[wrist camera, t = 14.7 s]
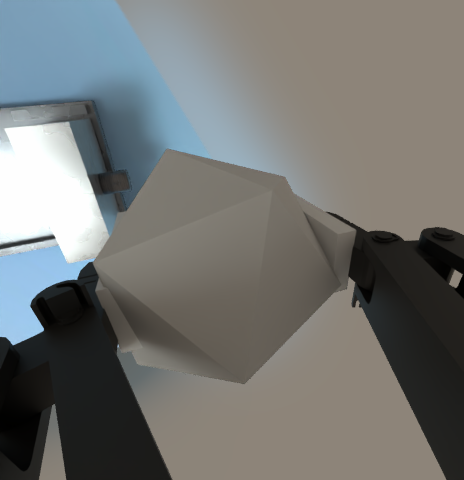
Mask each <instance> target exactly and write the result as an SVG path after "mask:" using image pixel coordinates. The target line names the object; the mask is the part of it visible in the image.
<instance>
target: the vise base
mask: <svg viewBox="0 0 464 480" xmlns="http://www.w3.org/2000/svg"><path fill="white" fill-rule="evenodd" d="M88 118H90V119H91V122H92V125H93V128H94V131H95V135H96V138H97V141H98V144H99V147H100V150H101V154H102V157H103V160H104V163H105V166H106V169H107V172H112V171H115V169H114V166H113V162H112V159H111V156H110V153H109V149H108V146H107V143H106V139H105V136H104V133H103V129H102V126H101V123H100V120H99V116H98V113H97V110H96V106H95V103H94V101H80V102H69V103H57V104H46V105H35V106H24V107H13V108H1V109H0V257H1V256H6V255H11V254H16V253H21V252H26V251H32V250H37V249H42V248H47V247H52V246H58V245H59V244H58V242H57V239H56V237H55V235H54V233H53V231H52V229H51V227H50V225H49V222H48V220H47V218H46V216H45V214H44V212H43V210H42V208H41V205H40V203H39V201H38V199H37V197H36V195H35V193H34V191H33V188H32V186H31V184H30V182H29V180H28V178H27V176H26V174H25V171H24V169H23V167H22V165H21V163H20V161H19V159H18V157H17V154H16V152H15V150H14V148H13V146H12V144H11V142H10V140H9V137H8V135H7V133H6V131H5V128H12V127H19V126H27V125H34V124H41V123H50V122H59V121H69V120H79V119H88ZM114 194H115V198H116V201H117V204H118V207H119V210H120V212H125V211H127V209H126V205H125V202H124V199H123V195H122V192H120V193H114Z"/></svg>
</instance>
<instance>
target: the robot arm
mask: <svg viewBox="0 0 464 480" xmlns="http://www.w3.org/2000/svg"><path fill="white" fill-rule="evenodd" d="M294 195H295V194H294ZM295 197H296V199H297V201H298V203H299V205H300V207H301V209H302V211H303V212H304V214H305V216H306V218H307V220H308V222H309V224H310V226H311V228H312V230H313V232H314V234H315V235H316V237H317V239H318V241H319V243H320V245H321V247H322V249H323V251H324V253H325V255H326V257H327V259H328V261H329V263H330V265H331V267H332V269H333V271H334V272H335V274H336V276H337V277H338V279H339V281H340V283H341V286H340V287H339V288H338V289H337V290H336V291H335V292H338V291H342V290H345V289H347V285H348V278H349V277H350V278H351V279H352V280H353V281H355V287H354V293H353V298H352V307H355V305H356V301H357V300H359V302H360V304H359V307H362V309H363V310H364V313H365V315H366V317H367V319H368V321H369V323H370V325H371V327H372V329H373V331H374V333H375V335H376V337H377V339H378V341H379V343H380V345H381V347H382V349H383V351H384V353H385V355H386V357H387V359H388V361H389V364H390V366H391V368H392V370H393V372H394V374H395V376H396V378H397V380H398V382H399V384H400V386H401V388H402V390H403V392H404V394H405V396H406V398H407V400H408V402H409V404H410V406H411V408H412V410H413V412H414V414H415V416H416V418H417V420H418V423H419V424H420V426H421V429H422V431H423V433H424V435H425V437H426V439H427V441H428V443H429V445H430V447H431V449H432V451H433V453H434V455H435V457H436V459H437V461H438V463H439V465H440V467H441V469H442V471H443V473H444V475H445V477H446V480H464V235H462V234H460V233H458V232H455V231H453V230H448V229H446V228H439V227H435V228H427V229H424V230H423V231H422V232H421V235H420V238H419V240H416V241H404V240H403V239H402V238H401V237H400V236H398V235H396V234H393V233H390V232H385V231H370V232H367V231H365V230H363V229H362V228H360V227H358V226H356V225H355V224H353V223H350V222H349V221H347V220H346V219H345V220H344V219H343V218H342V217H340V216H338V215H337V214H333V213H330V212H324V211H323V210H321V209H319V208H318V207H316V206H314V205H313V204H311V203H309V202H307V201H306V200H304V199H302V198H300V197H299V196H297V195H295ZM125 213H126V211H125V212H119V213H117V217H116V220H115V224H114V227H113V231H114V229H115V228H116V226H117V225H118V223H119V222H120V220H121V219H122V217H123V216H124V214H125ZM113 231H112V233H113ZM454 270H457V271H458V272H460V273H461V274H463V275H462V278H461V280H460V283H459V285H458V287H457V288H454V287H452V286H451V285H449V283H450V280H451V277H452V275H453V272H454ZM77 279H78V280H68V281H63V282H60V283H56V284H54V285H52V286H50V287H48V288H46V289H44V290H43V291H41V292H40V293H39V294H37V295H36V297H35V298H34V299H33V300H32V302H31V305H30V307H31V308H32V310H33V312H34V313H35V315H36V317H37V318H38V320H39V321H40V323H41V325H42V326H43V328H44V331H43V332H41V333H39V334H37V335H35V336H33V337H31V338H29V339H26V340H24V341H22V342H20V343H18V344H15V345H12V344H11V342H10V341H9V340H8V339H7V338H6V337H0V480H39V476H40V470H41V464H42V459H43V453H44V447H45V442H46V436H47V430H48V425H49V419H50V414H51V408H52V405H53V404H55V406H56V413H57V420H58V426H59V433H60V439H61V446H62V453H63V460H64V467H65V473H66V480H172V478H171V476H170V473H169V471H168V469H167V467H166V464H165V462H164V460H163V458H162V455H161V453H160V451H159V449H158V446H157V444H156V442H155V440H154V438H153V435H152V433H151V431H150V428H149V426H148V424H147V422H146V419H145V417H144V415H143V413H142V410H141V408H140V406H139V404H138V401H137V399H136V397H135V395H134V392H133V390H132V388H131V386H130V383H129V381H128V379H127V377H126V374H125V372H124V370H123V368H122V365H121V363H120V361H119V359H118V357H117V346H118V344H119V347H120V349H121V351H122V353H126V352H129V351H133V350H136V349H140V348H143V347H142V345H141V344H140V342H139V340H138V339H137V337H136V335H135V333H134V332H133V330H132V328H131V327H130V325H129V323H128V322H127V320H126V318H125V317H124V315H123V313H122V312H121V310H120V308H119V306H118V305H117V303H116V301H115V300H114V298H113V296H112V295H111V293H110V291H109V290H108V288H105V287H103V285H102V283H101V281H100V278H99V276H98V274H97V271H96V269H95V267H94V265H93V262H89V263H88V264H87V265H86V266H85V267H84V268H83V269H82V270H81V271H80V273H79V276H78V278H77Z"/></svg>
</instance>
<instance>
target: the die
mask: <svg viewBox="0 0 464 480" xmlns="http://www.w3.org/2000/svg"><path fill="white" fill-rule="evenodd" d="M93 265H94V267H95V269H96V271H97V274H98V276H99V278H100V281H101V283H102V285H103V287H105V288H108V290H109V291H110V293H111V295H112V296H113V298H114V300H115V301H116V303H117V305H118V306H119V308H120V310H121V312H122V313H123V315H124V317H125V318H126V320H127V322H128V323H129V325H130V327H131V328H132V330H133V332H134V333H135V335H136V337H137V339H138V340H139V342H140V344H141V345H142V347H143V348H140V349H136V350H133V351H132V353H133V355H134V357H135V360H136V362H137V364H139V365H144V366H150V367H155V368H161V369H166V370H171V371H177V372H182V373H188V374H193V375H199V376H204V377H209V378H214V379H220V380H225V381H231V382H237V383H241V384H245V383H246V382H247V381H248V380H249V379H250V378H251V377H252V376H253V375H254V374H255V373H256V372H257V371H258V370H259V369H260V368H261V367H262V366H263V364H265V363H266V362H267V360H269V359H270V357H272V355H273V354H274V353H275V352H276V351H277V350H278V349H279V348H280V347H281V346H282V345H283V344H284V343H285V342H286V341H287V340H288V339H289V338H290V337H291V336H292V335H293V334H294V333H295V332H296V331H297V330H298V329H299V328H300V327H301V326H302V325H303V324H304V323H305V322H306V321H307V320H308V319H309V318H310V317H311V315H313V313H315V311H316V310H317V309H318V308H319V307H320V306H321V305H322V304H323V303H324V302H325V301H326V300H327V299H328V298H329V297H330V296H331V295H332V294H333V293H334V292H335V291H336V290H337V289H338V288H339V287H340V286H341V283H340V281H339V279H338V277H337V276H336V274H335V272H334V271H333V269H332V267H331V265H330V263H329V261H328V259H327V257H326V255H325V253H324V251H323V249H322V247H321V245H320V243H319V241H318V239H317V237H316V235H315V234H314V232H313V230H312V228H311V226H310V224H309V222H308V220H307V218H306V216H305V214H304V212H303V211H302V209H301V207H300V205H299V203H298V201H297V199H296V197H295V195H294V193H293V192H292V189H291V188H290V186H289V184H288V182H287V180H286V178H285V177H283V176H279V175H275V174H271V173H266V172H262V171H258V170H254V169H250V168H246V167H241V166H237V165H233V164H229V163H225V162H221V161H216V160H212V159H208V158H204V157H200V156H196V155H191V154H187V153H183V152H179V151H175V150H171V149H166V151H165V152H164V154H163V155H162V157H161V159H160V160H159V162H158V163H157V165H156V166H155V168H154V169H153V171H152V172H151V174H150V175H149V177H148V179H147V180H146V182H145V183H144V185H143V186H142V188H141V189H140V191H139V192H138V194H137V196H136V197H135V199H134V200H133V202H132V203H131V205H130V206H129V208H128V209H127V211H126V213H125V214H124V216H123V217H122V219H121V220H120V222H119V223H118V225H117V226H116V228H115V229H114V231H113V233H112V234H111V236H110V237H109V239H108V240H107V242H106V243H105V245H104V246H103V248H102V250H101V251H100V253H99V254H98V256H97V257H96V259H95V260H94V262H93Z"/></svg>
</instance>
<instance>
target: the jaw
mask: <svg viewBox="0 0 464 480" xmlns="http://www.w3.org/2000/svg"><path fill="white" fill-rule="evenodd" d="M5 131H6V133H7V135H8V137H9V140H10V142H11V144H12V146H13V148H14V150H15V152H16V154H17V157H18V159H19V161H20V163H21V165H22V167H23V169H24V171H25V174H26V176H27V178H28V180H29V182H30V184H31V186H32V188H33V191H34V193H35V195H36V197H37V199H38V201H39V203H40V205H41V208H42V210H43V212H44V214H45V216H46V218H47V220H48V222H49V225H50V227H51V229H52V231H53V233H54V235H55V237H56V239H57V242H58V244H59V246H60V248H61V250H62V252H63V254H64V256H65V259H66V261H67V263H73V262H78V261H83V260H87V259H92V258H96V257H97V256H98V254H99V253H100V251H101V250H102V248H103V246H104V245H105V243H106V242H107V240H108V239H109V237H110V236H111V234H112V231H113V227H114V224H115V220H116V217H117V213H119V212H120V210H119V207H118V204H117V201H116V198H115V194H114V193H120V192H126V191H132V188H131V182H130V178H129V175H128V172H127V170H119V171H112V172H107V169H106V166H105V163H104V160H103V157H102V154H101V150H100V147H99V144H98V141H97V138H96V135H95V131H94V128H93V125H92V122H91V119H90V118H88V119H79V120H69V121H59V122H50V123H41V124H34V125H27V126H19V127H12V128H5Z"/></svg>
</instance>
